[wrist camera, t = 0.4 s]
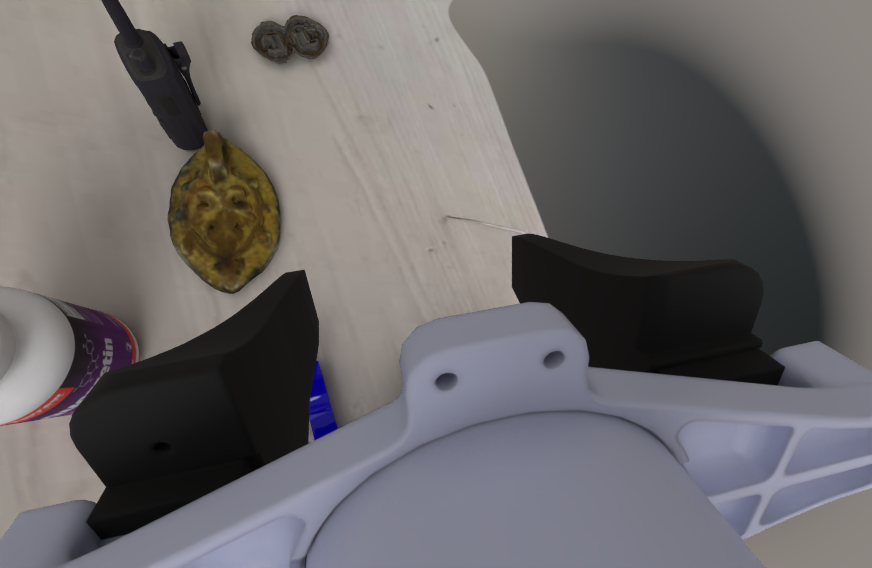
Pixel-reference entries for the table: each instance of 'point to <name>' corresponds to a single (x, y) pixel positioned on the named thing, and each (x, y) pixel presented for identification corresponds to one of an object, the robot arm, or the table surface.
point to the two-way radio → (160, 79)
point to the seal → (224, 215)
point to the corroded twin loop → (290, 39)
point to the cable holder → (320, 407)
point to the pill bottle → (54, 354)
